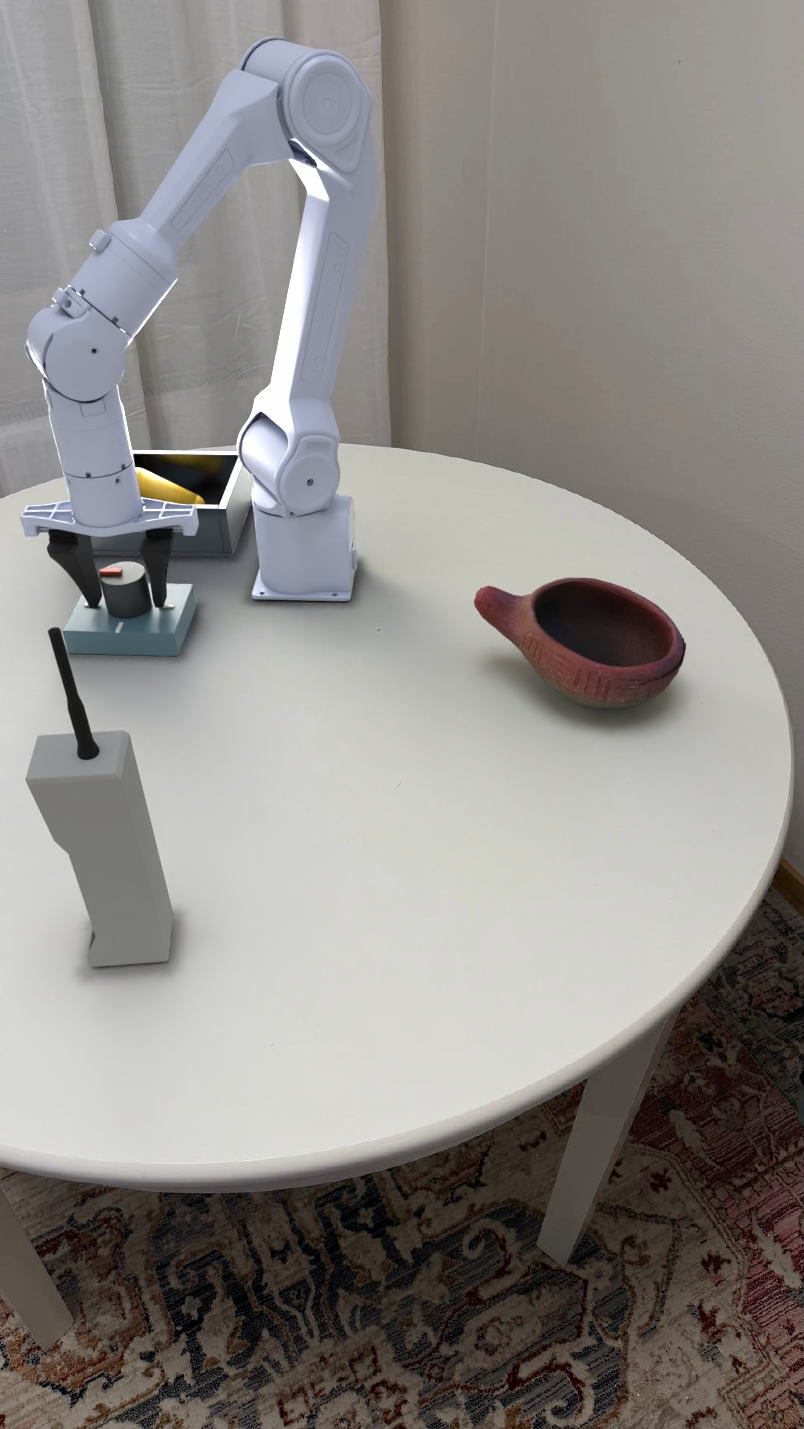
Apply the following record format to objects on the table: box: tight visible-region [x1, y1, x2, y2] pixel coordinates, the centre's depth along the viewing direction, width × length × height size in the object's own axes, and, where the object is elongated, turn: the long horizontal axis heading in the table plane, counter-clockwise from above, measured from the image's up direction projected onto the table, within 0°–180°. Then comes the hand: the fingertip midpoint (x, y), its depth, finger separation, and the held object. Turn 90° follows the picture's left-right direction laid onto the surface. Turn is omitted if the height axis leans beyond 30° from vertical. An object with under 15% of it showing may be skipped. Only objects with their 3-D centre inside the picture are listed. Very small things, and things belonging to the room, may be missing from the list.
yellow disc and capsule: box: [135, 468, 205, 505], centre depth 105 cm, size 12×4×3 cm, turn 87°
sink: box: [91, 449, 253, 559], centre depth 105 cm, size 16×13×6 cm
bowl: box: [473, 577, 687, 709], centre depth 83 cm, size 16×13×8 cm
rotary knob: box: [98, 561, 152, 618], centre depth 90 cm, size 4×4×4 cm
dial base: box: [61, 582, 198, 657], centre depth 92 cm, size 10×8×3 cm
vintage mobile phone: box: [24, 626, 174, 968], centre depth 57 cm, size 4×5×25 cm
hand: (128, 601), depth 91 cm, fingers open, 5 cm apart
